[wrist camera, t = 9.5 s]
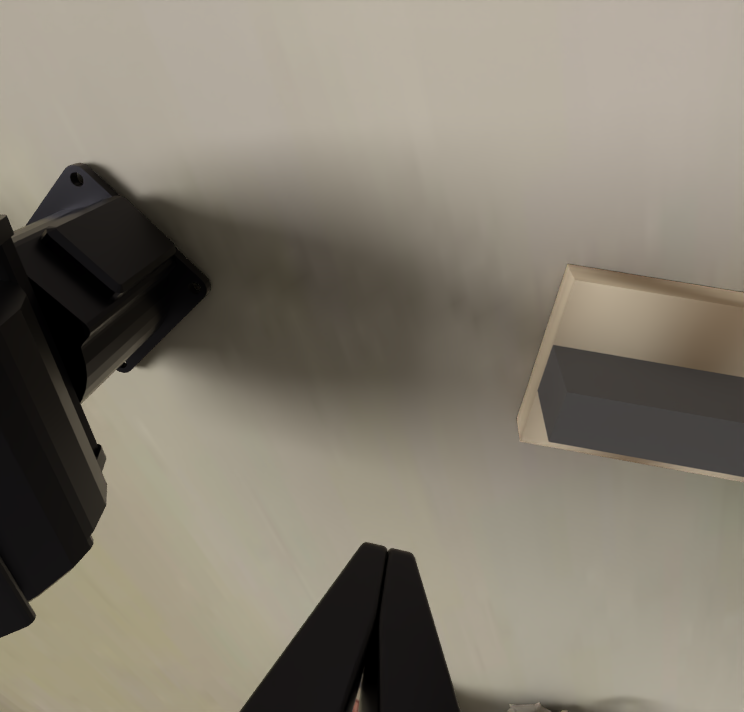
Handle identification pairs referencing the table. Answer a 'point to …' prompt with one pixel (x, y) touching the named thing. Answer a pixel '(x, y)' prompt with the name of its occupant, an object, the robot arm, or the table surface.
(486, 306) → the table surface
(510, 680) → the table surface
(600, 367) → the rail
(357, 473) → the table surface
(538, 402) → the track board
